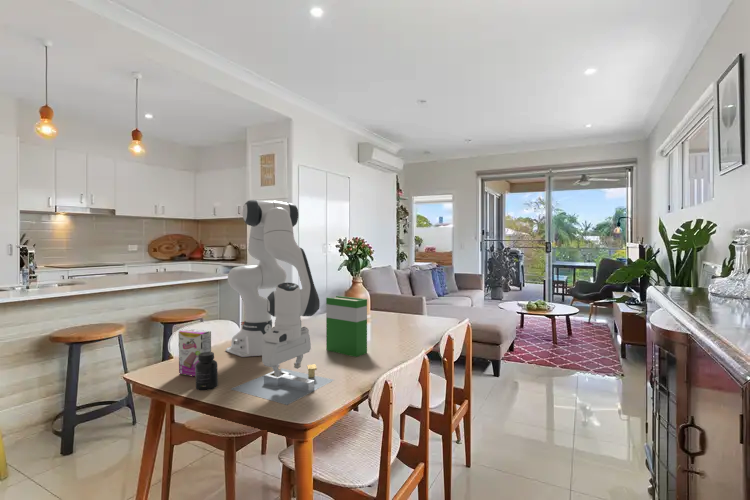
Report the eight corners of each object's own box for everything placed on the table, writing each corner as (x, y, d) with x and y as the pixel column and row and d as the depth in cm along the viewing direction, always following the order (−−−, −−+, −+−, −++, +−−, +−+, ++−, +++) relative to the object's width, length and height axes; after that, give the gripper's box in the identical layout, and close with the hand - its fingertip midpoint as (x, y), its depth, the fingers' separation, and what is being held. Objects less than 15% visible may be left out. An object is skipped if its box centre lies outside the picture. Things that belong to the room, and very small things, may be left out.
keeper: (308, 380, 136) (308, 368, 136) (307, 376, 140) (307, 364, 140) (316, 379, 136) (316, 368, 136) (315, 375, 141) (315, 364, 141)
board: (230, 391, 128) (230, 388, 128) (281, 370, 149) (281, 368, 149) (287, 407, 116) (287, 404, 116) (334, 382, 136) (334, 379, 136)
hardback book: (326, 350, 176) (326, 297, 176) (337, 346, 182) (337, 295, 182) (356, 357, 166) (356, 301, 165) (367, 353, 172) (367, 299, 171)
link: (317, 387, 129) (317, 378, 129) (305, 394, 123) (305, 385, 123) (277, 378, 138) (277, 369, 138) (263, 383, 133) (263, 375, 132)
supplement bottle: (200, 385, 133) (199, 350, 133) (220, 385, 134) (220, 350, 133) (192, 393, 126) (191, 356, 126) (213, 392, 127) (213, 356, 127)
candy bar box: (178, 375, 144) (177, 331, 143) (188, 370, 148) (188, 328, 148) (202, 378, 140) (201, 333, 139) (212, 374, 145) (211, 330, 144)
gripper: (301, 324, 141) (301, 361, 142) (258, 336, 124) (258, 379, 124) (314, 326, 138) (314, 364, 139) (273, 339, 121) (273, 383, 121)
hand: (287, 371), depth 131 cm, fingers open, 8 cm apart
